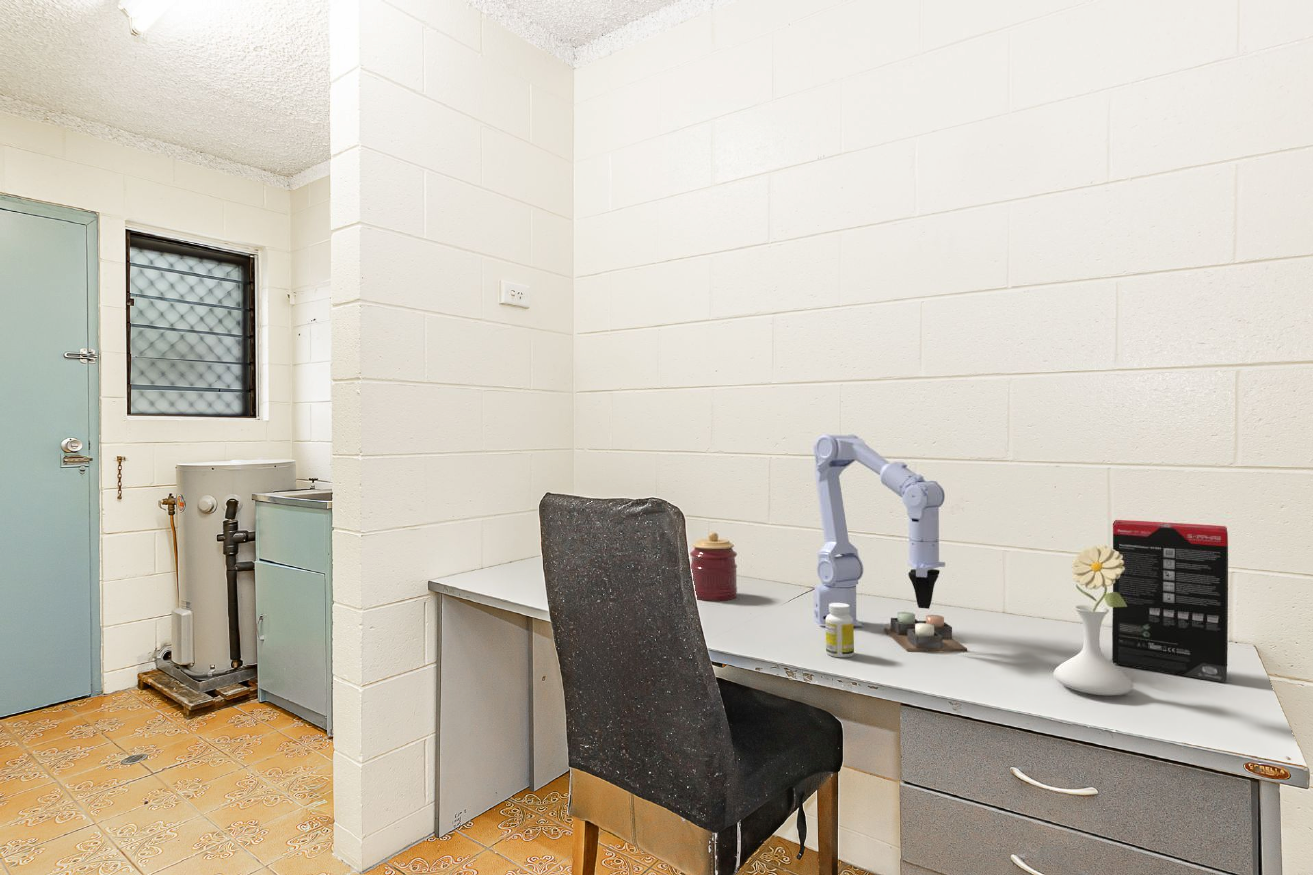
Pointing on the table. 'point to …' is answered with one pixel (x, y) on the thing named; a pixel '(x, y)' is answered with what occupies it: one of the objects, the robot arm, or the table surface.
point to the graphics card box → (1172, 598)
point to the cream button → (924, 629)
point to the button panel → (923, 638)
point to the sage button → (906, 617)
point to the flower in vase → (1095, 626)
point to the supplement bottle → (839, 631)
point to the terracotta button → (935, 620)
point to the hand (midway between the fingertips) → (924, 606)
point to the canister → (714, 569)
